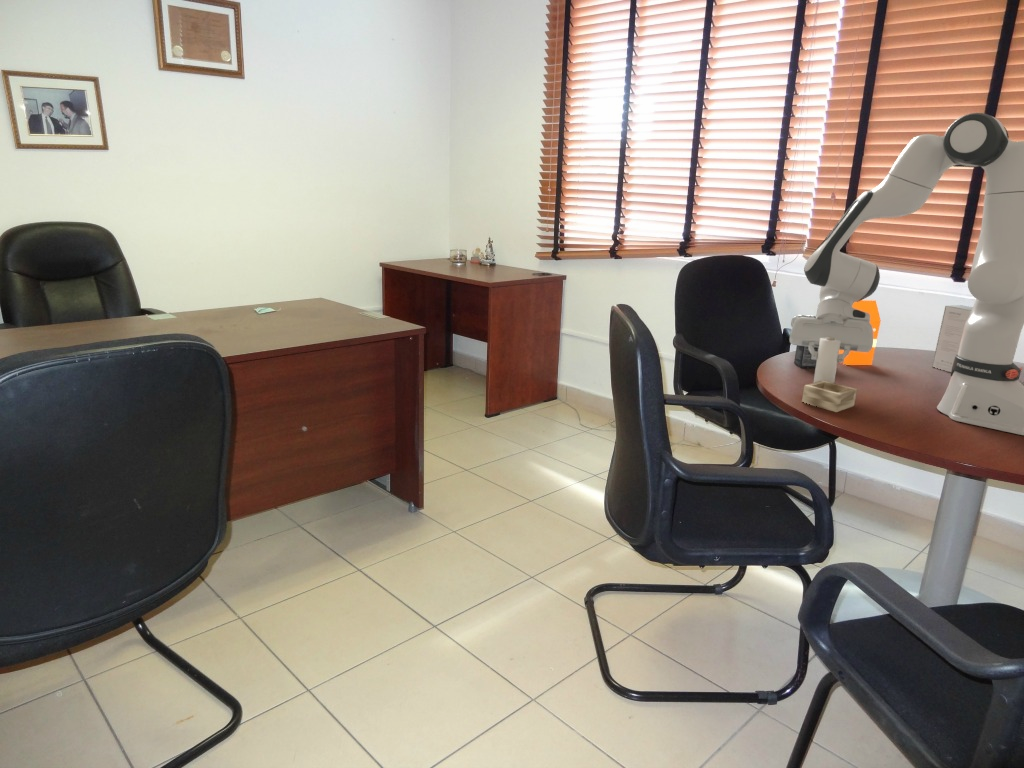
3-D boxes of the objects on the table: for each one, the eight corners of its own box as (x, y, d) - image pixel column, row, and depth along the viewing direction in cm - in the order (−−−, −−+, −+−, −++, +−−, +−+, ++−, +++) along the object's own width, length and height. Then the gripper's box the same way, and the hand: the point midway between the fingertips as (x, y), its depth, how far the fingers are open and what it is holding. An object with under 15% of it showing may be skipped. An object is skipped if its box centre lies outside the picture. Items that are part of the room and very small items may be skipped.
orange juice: (831, 359, 213) (842, 298, 207) (855, 359, 215) (867, 298, 209) (846, 365, 206) (859, 302, 200) (872, 365, 207) (885, 302, 201)
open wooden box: (853, 406, 166) (857, 389, 165) (836, 412, 161) (839, 394, 159) (819, 396, 173) (822, 380, 172) (801, 402, 168) (804, 385, 166)
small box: (827, 364, 206) (833, 332, 203) (835, 370, 200) (841, 336, 197) (792, 362, 207) (798, 330, 204) (799, 368, 201) (805, 334, 198)
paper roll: (837, 384, 176) (844, 338, 172) (828, 387, 173) (835, 340, 169) (819, 380, 180) (826, 335, 176) (809, 382, 177) (816, 337, 173)
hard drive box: (996, 379, 197) (1013, 313, 191) (979, 380, 194) (996, 314, 189) (946, 365, 211) (961, 304, 205) (930, 367, 208) (944, 304, 202)
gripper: (793, 307, 181) (785, 348, 176) (876, 314, 173) (871, 358, 167) (792, 321, 187) (784, 361, 181) (873, 328, 178) (868, 371, 172)
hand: (827, 360), depth 174 cm, fingers closed on paper roll, 5 cm apart
